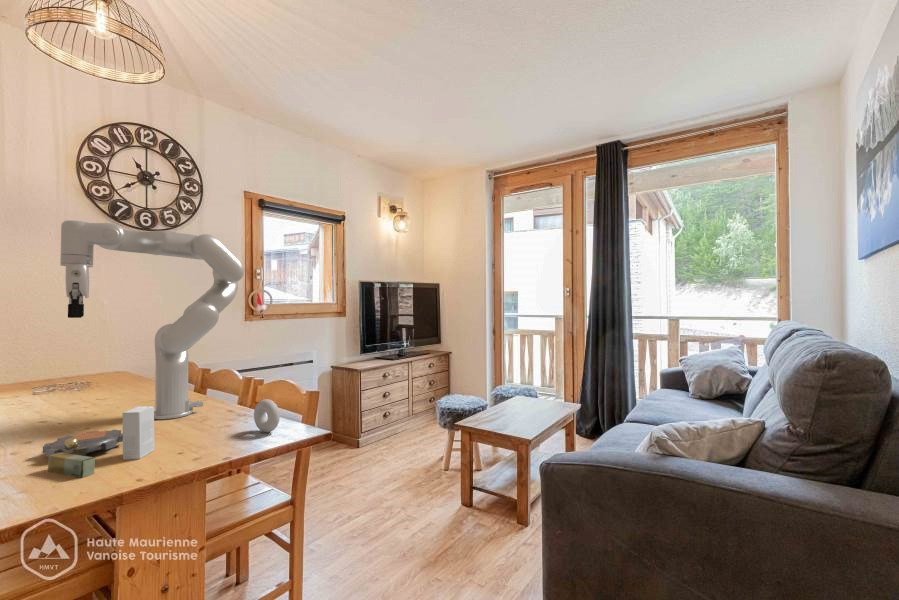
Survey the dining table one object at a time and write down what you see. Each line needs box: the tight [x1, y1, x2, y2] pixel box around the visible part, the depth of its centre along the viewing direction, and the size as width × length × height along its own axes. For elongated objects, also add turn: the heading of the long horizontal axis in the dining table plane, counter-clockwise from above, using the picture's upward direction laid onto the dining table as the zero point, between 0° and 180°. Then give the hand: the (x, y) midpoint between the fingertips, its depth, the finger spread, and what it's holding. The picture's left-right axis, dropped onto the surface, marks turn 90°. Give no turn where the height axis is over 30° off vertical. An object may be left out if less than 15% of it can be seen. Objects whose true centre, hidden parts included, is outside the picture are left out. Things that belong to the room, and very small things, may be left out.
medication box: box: [47, 452, 96, 479], centre depth 96 cm, size 12×3×4 cm, turn 73°
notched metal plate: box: [42, 429, 123, 458], centre depth 109 cm, size 16×16×4 cm
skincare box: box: [121, 405, 155, 461], centre depth 107 cm, size 6×4×12 cm
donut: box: [253, 398, 281, 433], centre depth 126 cm, size 10×4×10 cm, turn 60°
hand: (76, 317), depth 127 cm, fingers open, 9 cm apart
